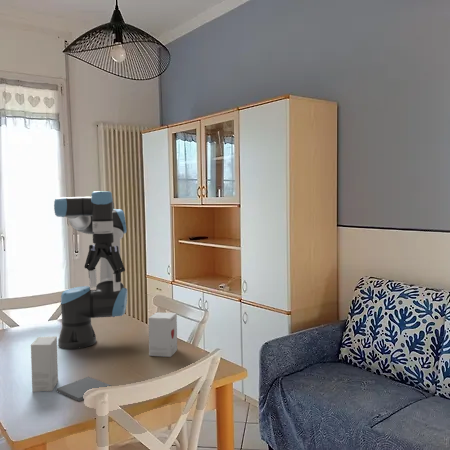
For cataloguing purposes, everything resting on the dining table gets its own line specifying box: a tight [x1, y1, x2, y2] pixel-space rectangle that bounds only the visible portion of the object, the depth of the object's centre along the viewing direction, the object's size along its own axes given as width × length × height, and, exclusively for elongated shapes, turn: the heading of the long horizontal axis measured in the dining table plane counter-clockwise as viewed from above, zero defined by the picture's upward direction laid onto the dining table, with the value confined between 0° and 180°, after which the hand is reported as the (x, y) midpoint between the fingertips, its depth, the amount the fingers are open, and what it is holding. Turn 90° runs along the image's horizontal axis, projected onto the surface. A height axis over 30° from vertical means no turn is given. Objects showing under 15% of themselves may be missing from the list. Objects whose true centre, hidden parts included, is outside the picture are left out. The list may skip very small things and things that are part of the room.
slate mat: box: [55, 376, 112, 402], centre depth 154 cm, size 12×12×1 cm
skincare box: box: [30, 335, 59, 393], centre depth 156 cm, size 8×7×16 cm
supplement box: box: [148, 312, 178, 358], centre depth 187 cm, size 9×9×15 cm
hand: (104, 289), depth 181 cm, fingers open, 13 cm apart
